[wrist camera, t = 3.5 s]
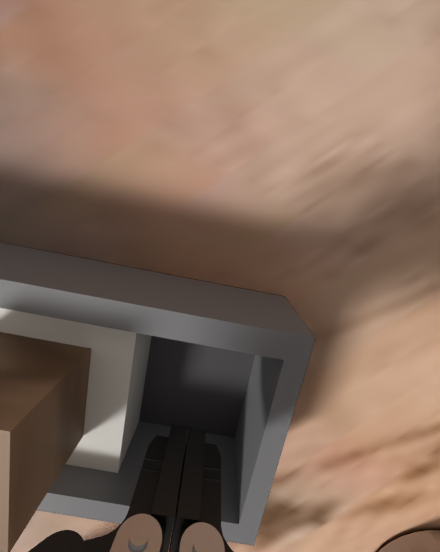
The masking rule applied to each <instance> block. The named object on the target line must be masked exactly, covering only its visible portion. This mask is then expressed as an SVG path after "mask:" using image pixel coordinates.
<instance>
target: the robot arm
mask: <svg viewBox="0 0 440 552" xmlns="http://www.w3.org/2000/svg"><path fill="white" fill-rule="evenodd" d="M187 431H188V426H186V425H179V424H173V423H172V425H171V429H170V434H169V437H165V436H159V435H157V436H156V437H155V438H154V439H153V440H152V441H151V443H150V444H149V445H148V448H147V452H146V455H145V459H144V462H143V465H142V468H141V471H140V475H139V478H138V481H137V484H136V488H135V491H134V494H133V497H132V501H131V504H130V507H129V510H128V513H127V515H126V517H125V519H124V520H123V522H122V523H121V524H120V525H119V526H118V527H117V528H116V529H115V530H114V531H112V532H111V533H109V534H107V535H105V536H102V537H98V538H94V539H90V540H86V541H83V539H82V537H81V536H80V535H79V534H78V533H77V532H75V531H71V530H63V531H59V532H56V533H54V534H52V535H50V536H49V537H47V538H46V539H44V540H43V541H42V542H41V543H39V544H38V545H37V546H35V547H34V548H33V549H31V550H30V551H29V552H168V548H169V543H170V548H169V552H233V551H232V550H231V548H230V547H229V546H228V544H227V543H226V541H225V539H224V536H223V533H222V528H221V455H220V452H219V450H218V448H217V445H216V444H210V443H205V438H206V429H205V428H199V427H192V426H190V427H189V431H188V437H187ZM186 438H187V442H186ZM185 444H186V447H185ZM184 451H185V452H184ZM172 528H173V529H172ZM171 533H172V535H171ZM170 538H171V542H170ZM378 552H440V530H426V531H419V532H414V533H411V534H407V535H404V536H402V537H399V538H397V539H395V540H393V541H391V542H390V543H388V544H387V545H386V546H384V547H383V548H381V549H380V550H379V551H378Z"/></svg>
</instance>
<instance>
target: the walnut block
mask: <svg viewBox="0 0 440 552" xmlns="http://www.w3.org/2000/svg"><path fill="white" fill-rule="evenodd" d="M90 359H91V348H86V347H80V346H75V345H69V344H64V343H58V342H53V341H47V340H42V339H36V338H31V337H25V336H20V335H14V334H9V333H3V332H0V552H10V551H11V549H12V548H13V546H14V545H15V543H16V541H17V540H18V538H19V537H20V535H21V534H22V532H23V530H24V529H25V527H26V526H27V524H28V522H29V521H30V519H31V518H32V516H33V515H34V513H35V511H36V510H37V508H38V507H39V505H40V503H41V502H42V500H43V499H44V497H45V496H46V494H47V492H48V491H49V489H50V488H51V486H52V484H53V483H54V481H55V480H56V478H57V477H58V475H59V473H60V472H61V470H62V469H63V467H64V465H65V464H66V462H67V461H68V459H69V458H70V456H71V454H72V453H73V451H74V450H75V448H76V446H77V445H78V443H79V442H80V440H81V439H82V437H83V434H84V423H85V412H86V402H87V391H88V380H89V369H90Z"/></svg>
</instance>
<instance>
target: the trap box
mask: <svg viewBox="0 0 440 552" xmlns="http://www.w3.org/2000/svg"><path fill="white" fill-rule="evenodd" d="M0 332H3V333H9V334H14V335H20V336H25V337H31V338H36V339H42V340H47V341H53V342H58V343H64V344H69V345H75V346H80V347H86V348H91V359H90V369H89V380H88V391H87V402H86V412H85V423H84V434H83V437H82V439H81V440H80V442H79V443H78V445H77V446H76V448H75V450H74V451H73V453H72V454H71V456H70V458H69V459H68V461H67V462H66V464H65V465H64V467H63V469H62V470H61V472H60V473H59V475H58V477H57V478H56V480H55V481H54V483H53V484H52V486H51V488H50V489H49V491H48V492H47V494H46V496H45V497H44V499H43V500H42V502H41V503H40V505H39V507H38V508H37V510H38V511H44V512H51V513H57V514H63V515H69V516H75V517H81V518H87V519H94V520H100V521H106V522H112V523H118V524H121V523H122V522H123V520H124V519H125V517H126V515H127V513H128V510H129V507H130V504H131V501H132V497H133V494H134V491H135V488H136V484H137V481H138V478H139V475H140V471H141V468H142V465H143V462H144V459H145V455H146V452H147V448H148V445H149V444H150V443H151V441H152V440H153V439H154V438H155V437H156V436H157V435H159V436H165V437H169V434H170V429H171V425H172V423H173V424H179V425H186V426H188V431H189V427H190V426H192V427H199V428H205V429H206V438H205V443H210V444H216V445H217V448H218V450H219V452H220V455H221V528H222V533H223V536H224V539H225V541H229V542H235V543H241V544H247V545H253V546H254V543H255V539H256V536H257V533H258V529H259V526H260V523H261V519H262V516H263V513H264V509H265V506H266V503H267V499H268V496H269V493H270V489H271V486H272V483H273V479H274V476H275V472H276V469H277V466H278V462H279V459H280V456H281V452H282V449H283V446H284V442H285V439H286V436H287V432H288V429H289V426H290V422H291V419H292V415H293V412H294V409H295V405H296V402H297V399H298V395H299V392H300V389H301V385H302V382H303V379H304V375H305V372H306V369H307V365H308V362H309V358H310V355H311V352H312V348H313V345H314V342H315V337H314V335H313V334H312V333H311V331H310V330H309V328H308V327H307V326H306V324H305V323H304V322H303V320H302V319H301V317H300V316H299V315H298V313H297V312H296V311H295V309H294V308H293V307H292V305H291V304H290V302H289V301H288V300H287V298H286V297H283V296H278V295H273V294H268V293H263V292H257V291H252V290H247V289H242V288H236V287H231V286H226V285H221V284H215V283H210V282H205V281H200V280H195V279H189V278H184V277H179V276H174V275H168V274H163V273H158V272H153V271H147V270H142V269H137V268H132V267H127V266H121V265H116V264H111V263H106V262H100V261H95V260H90V259H85V258H80V257H74V256H69V255H64V254H59V253H53V252H48V251H43V250H38V249H32V248H27V247H22V246H17V245H12V244H6V243H1V242H0ZM188 431H187V437H188ZM186 442H187V438H186ZM185 447H186V444H185ZM184 452H185V451H184ZM172 529H173V528H172Z"/></svg>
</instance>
